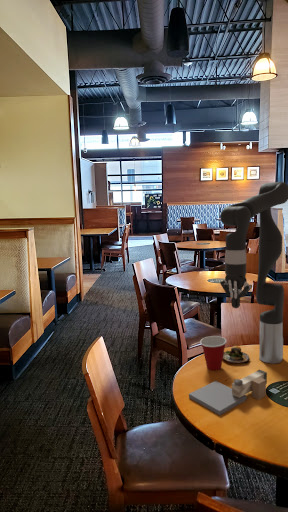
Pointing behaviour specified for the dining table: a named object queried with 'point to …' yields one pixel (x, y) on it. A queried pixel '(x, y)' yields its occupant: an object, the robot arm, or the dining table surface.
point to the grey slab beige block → (225, 395)
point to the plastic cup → (213, 351)
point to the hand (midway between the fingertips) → (235, 307)
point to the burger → (236, 355)
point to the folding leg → (246, 383)
